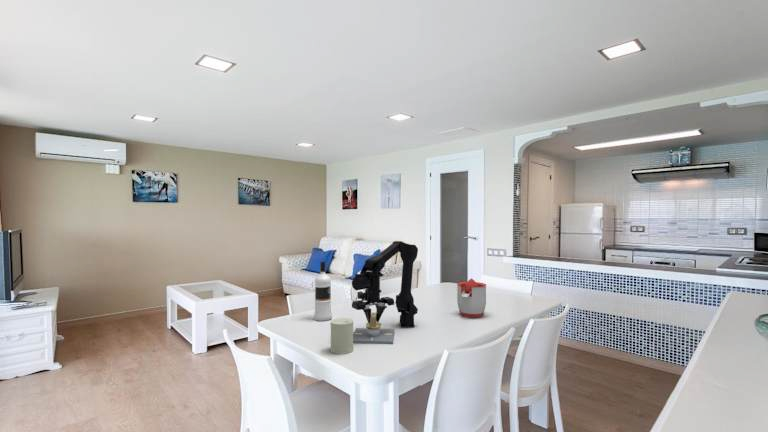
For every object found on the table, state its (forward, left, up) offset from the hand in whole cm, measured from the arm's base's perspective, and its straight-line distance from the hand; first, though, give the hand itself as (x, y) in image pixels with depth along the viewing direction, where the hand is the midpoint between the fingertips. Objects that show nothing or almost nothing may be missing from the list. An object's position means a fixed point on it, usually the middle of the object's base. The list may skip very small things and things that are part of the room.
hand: (373, 322), depth 163 cm
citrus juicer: (-49, -38, -6) cm, 62 cm away
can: (+11, +17, -6) cm, 21 cm away
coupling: (0, 0, -2) cm, 2 cm away
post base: (0, 0, -6) cm, 6 cm away
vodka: (+29, -27, -6) cm, 40 cm away
